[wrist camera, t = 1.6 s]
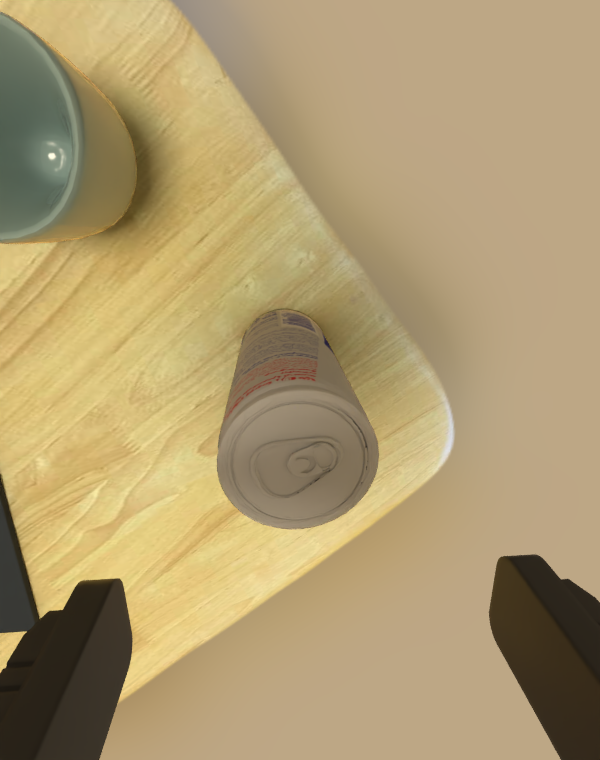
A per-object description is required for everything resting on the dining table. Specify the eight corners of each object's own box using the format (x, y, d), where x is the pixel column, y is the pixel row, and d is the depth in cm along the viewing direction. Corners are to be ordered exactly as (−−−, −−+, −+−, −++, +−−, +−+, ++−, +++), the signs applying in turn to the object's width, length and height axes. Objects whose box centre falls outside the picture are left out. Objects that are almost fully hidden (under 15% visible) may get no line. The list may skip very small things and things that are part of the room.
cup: (151, 248, 26) (85, 258, 17) (14, 229, 25) (-138, 228, 16) (156, 101, 24) (82, 14, 14) (5, 74, 23) (-181, -37, 13)
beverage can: (225, 362, 29) (182, 490, 15) (270, 290, 27) (272, 355, 13) (295, 404, 30) (319, 559, 16) (342, 337, 29) (413, 441, 15)
